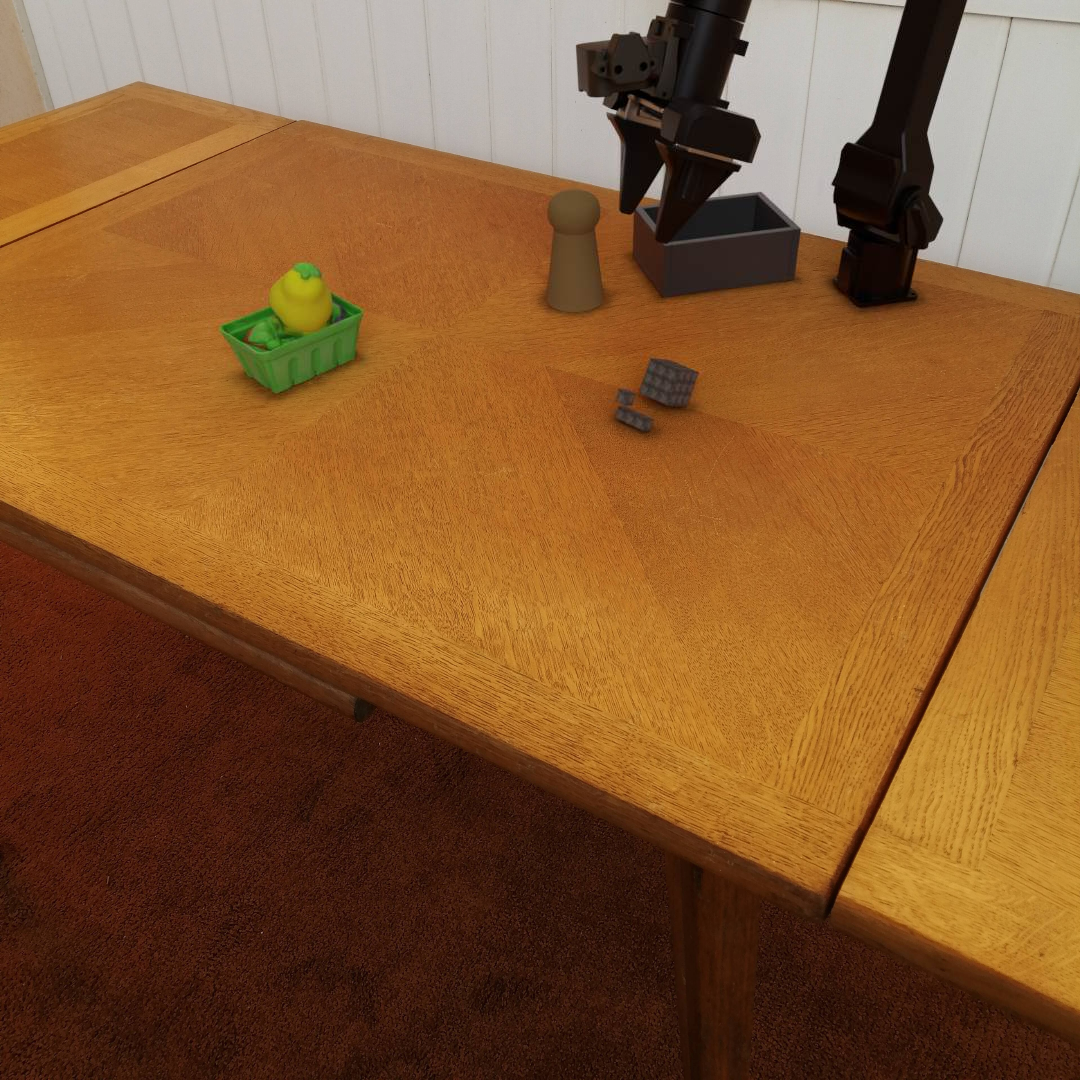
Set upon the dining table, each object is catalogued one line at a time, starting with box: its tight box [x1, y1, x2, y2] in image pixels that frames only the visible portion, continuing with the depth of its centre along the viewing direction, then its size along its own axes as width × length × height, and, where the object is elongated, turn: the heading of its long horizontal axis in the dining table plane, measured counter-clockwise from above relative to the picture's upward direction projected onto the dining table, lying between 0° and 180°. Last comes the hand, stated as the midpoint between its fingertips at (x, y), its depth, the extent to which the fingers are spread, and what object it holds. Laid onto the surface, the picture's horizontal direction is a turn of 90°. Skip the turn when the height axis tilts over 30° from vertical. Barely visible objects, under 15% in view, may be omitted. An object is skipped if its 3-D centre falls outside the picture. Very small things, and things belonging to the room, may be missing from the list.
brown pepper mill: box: [545, 188, 605, 313], centre depth 100 cm, size 6×6×11 cm
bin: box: [632, 191, 802, 298], centre depth 107 cm, size 15×11×6 cm
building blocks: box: [614, 357, 700, 432], centre depth 85 cm, size 3×6×8 cm
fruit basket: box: [219, 261, 364, 395], centre depth 91 cm, size 11×9×11 cm
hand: (642, 227), depth 80 cm, fingers open, 9 cm apart
